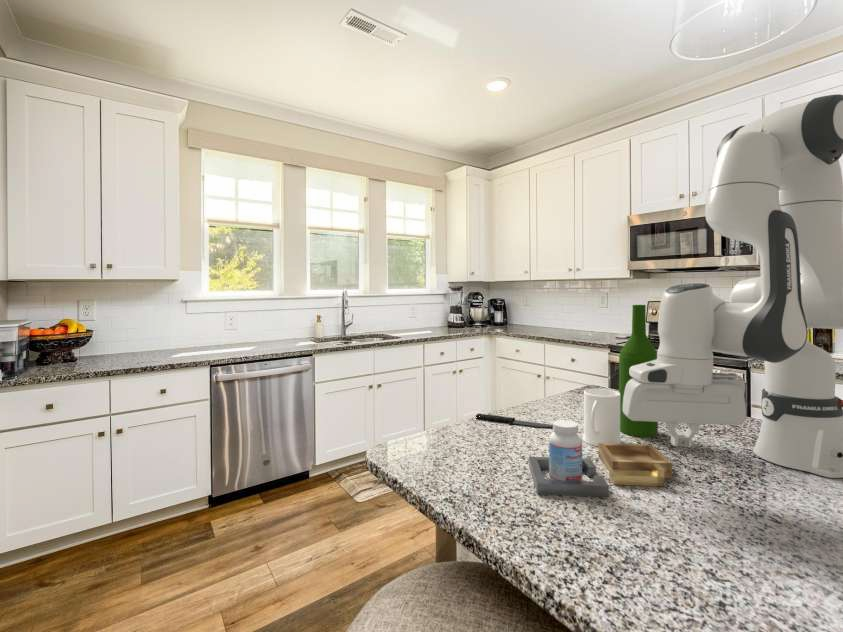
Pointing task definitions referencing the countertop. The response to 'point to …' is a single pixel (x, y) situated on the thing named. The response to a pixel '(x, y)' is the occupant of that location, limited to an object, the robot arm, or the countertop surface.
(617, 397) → the mug
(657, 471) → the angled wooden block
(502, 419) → the knife
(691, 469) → the countertop surface
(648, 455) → the tray
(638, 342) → the wine bottle
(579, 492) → the socket
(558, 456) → the pill bottle
